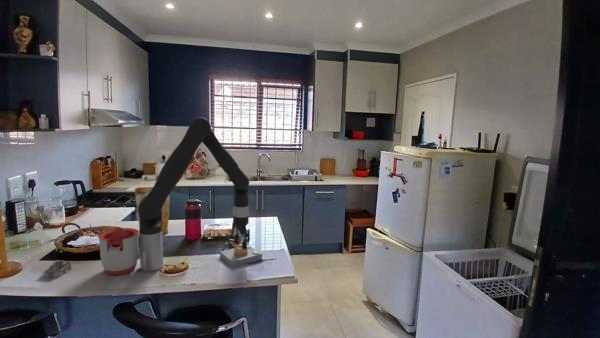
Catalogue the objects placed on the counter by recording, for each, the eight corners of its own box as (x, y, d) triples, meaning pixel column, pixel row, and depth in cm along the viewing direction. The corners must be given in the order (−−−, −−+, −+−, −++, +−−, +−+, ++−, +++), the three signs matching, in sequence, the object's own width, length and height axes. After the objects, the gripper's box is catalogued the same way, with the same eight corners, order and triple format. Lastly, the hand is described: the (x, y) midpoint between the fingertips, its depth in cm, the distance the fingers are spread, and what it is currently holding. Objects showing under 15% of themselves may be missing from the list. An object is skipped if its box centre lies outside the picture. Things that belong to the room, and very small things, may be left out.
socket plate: (232, 267, 149) (232, 260, 149) (219, 257, 160) (219, 250, 160) (261, 259, 159) (261, 252, 159) (248, 250, 170) (248, 243, 169)
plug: (238, 261, 157) (238, 247, 156) (234, 257, 160) (234, 244, 159) (247, 258, 160) (247, 245, 159) (243, 255, 163) (243, 242, 162)
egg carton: (58, 267, 145) (58, 258, 145) (75, 267, 146) (75, 258, 145) (40, 278, 135) (39, 269, 134) (59, 278, 135) (58, 269, 134)
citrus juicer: (94, 281, 133) (91, 235, 130) (106, 263, 149) (104, 222, 146) (135, 277, 137) (133, 233, 134) (143, 260, 154) (141, 220, 151)
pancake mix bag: (138, 232, 192) (136, 186, 188) (171, 230, 197) (170, 186, 193) (135, 236, 186) (132, 188, 182) (169, 234, 190) (168, 188, 186)
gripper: (227, 212, 159) (227, 243, 162) (240, 219, 148) (240, 252, 151) (241, 210, 164) (240, 240, 166) (254, 217, 153) (254, 249, 155)
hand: (240, 246), depth 158 cm, fingers open, 8 cm apart
